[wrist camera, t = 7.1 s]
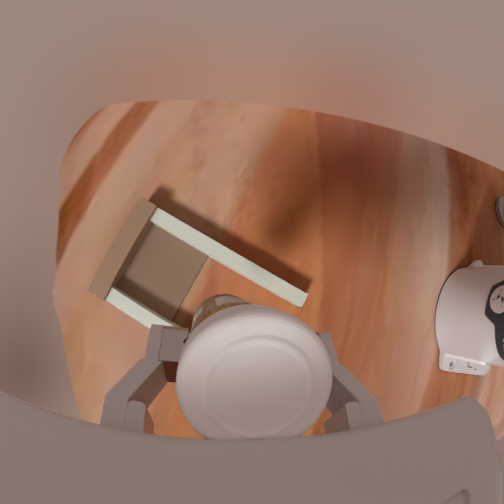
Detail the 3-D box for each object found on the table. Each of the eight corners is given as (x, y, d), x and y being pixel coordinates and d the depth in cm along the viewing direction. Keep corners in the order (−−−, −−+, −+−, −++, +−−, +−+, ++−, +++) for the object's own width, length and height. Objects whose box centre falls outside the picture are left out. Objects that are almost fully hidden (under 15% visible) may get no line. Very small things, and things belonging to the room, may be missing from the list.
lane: (302, 293, 31) (310, 294, 29) (254, 379, 29) (258, 387, 27) (145, 203, 30) (140, 196, 27) (97, 289, 28) (88, 289, 25)
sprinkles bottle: (180, 323, 20) (138, 388, 6) (225, 280, 20) (262, 271, 7) (224, 366, 20) (256, 479, 7) (268, 324, 21) (365, 380, 7)
